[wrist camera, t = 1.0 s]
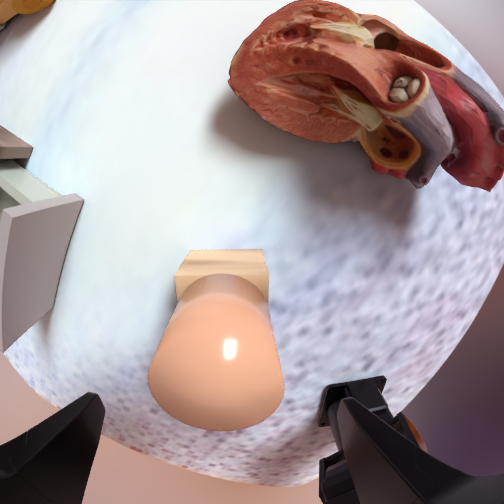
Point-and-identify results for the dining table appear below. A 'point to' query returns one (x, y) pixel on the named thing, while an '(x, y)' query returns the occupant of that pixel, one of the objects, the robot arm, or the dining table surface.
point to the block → (223, 267)
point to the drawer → (30, 247)
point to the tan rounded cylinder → (218, 357)
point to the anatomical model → (370, 93)
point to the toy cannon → (20, 8)
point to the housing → (13, 146)
